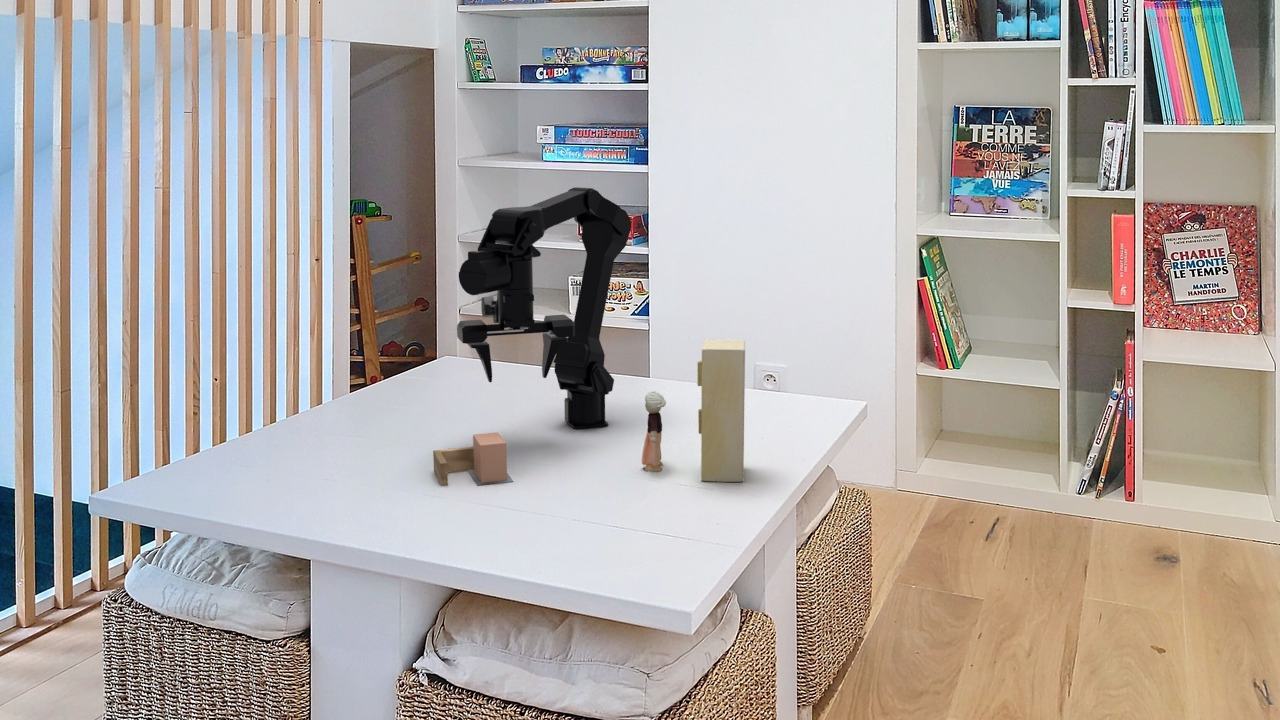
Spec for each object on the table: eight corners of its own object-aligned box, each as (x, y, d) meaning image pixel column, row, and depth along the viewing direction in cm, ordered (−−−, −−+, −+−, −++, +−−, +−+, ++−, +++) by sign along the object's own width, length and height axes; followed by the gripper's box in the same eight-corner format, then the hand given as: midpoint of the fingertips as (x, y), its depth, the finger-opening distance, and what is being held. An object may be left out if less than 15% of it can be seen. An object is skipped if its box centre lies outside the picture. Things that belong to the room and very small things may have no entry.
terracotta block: (507, 480, 182) (506, 442, 181) (481, 482, 181) (480, 445, 179) (498, 468, 187) (498, 432, 186) (474, 471, 186) (472, 434, 185)
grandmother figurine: (639, 461, 192) (639, 385, 189) (662, 460, 192) (663, 385, 189) (643, 476, 184) (643, 398, 181) (668, 475, 184) (668, 397, 181)
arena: (505, 464, 190) (504, 443, 189) (517, 481, 182) (517, 459, 181) (433, 471, 186) (433, 450, 185) (443, 489, 178) (442, 467, 177)
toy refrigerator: (697, 465, 189) (699, 338, 185) (743, 466, 189) (746, 338, 184) (695, 481, 182) (697, 349, 177) (743, 483, 181) (746, 350, 176)
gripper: (558, 276, 202) (559, 365, 206) (449, 282, 196) (452, 373, 200) (575, 286, 192) (576, 379, 195) (461, 292, 186) (465, 388, 189)
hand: (517, 379), depth 195 cm, fingers open, 9 cm apart
